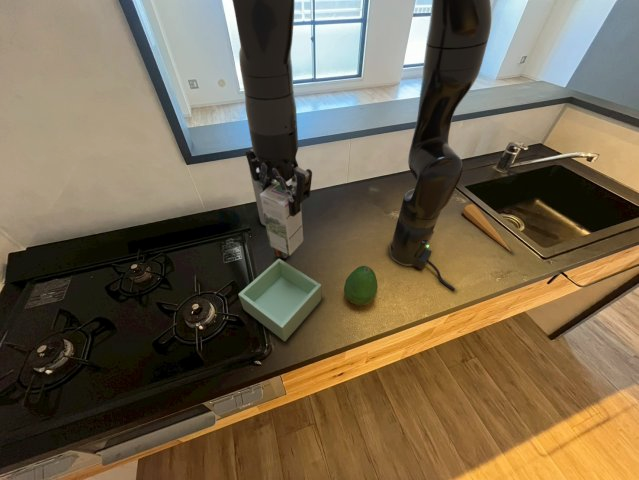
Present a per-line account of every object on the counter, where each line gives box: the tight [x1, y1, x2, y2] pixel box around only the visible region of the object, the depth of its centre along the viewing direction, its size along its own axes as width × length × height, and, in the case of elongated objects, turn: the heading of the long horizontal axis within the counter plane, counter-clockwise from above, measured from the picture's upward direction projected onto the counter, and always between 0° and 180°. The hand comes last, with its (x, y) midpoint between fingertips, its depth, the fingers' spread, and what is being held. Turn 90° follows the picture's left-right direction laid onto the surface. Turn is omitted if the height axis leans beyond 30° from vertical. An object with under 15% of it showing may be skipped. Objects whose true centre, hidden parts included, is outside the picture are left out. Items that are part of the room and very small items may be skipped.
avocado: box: [343, 265, 379, 306], centre depth 66 cm, size 8×8×12 cm
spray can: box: [248, 166, 276, 227], centre depth 84 cm, size 6×6×20 cm
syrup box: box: [260, 180, 304, 257], centre depth 58 cm, size 6×6×14 cm
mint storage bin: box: [238, 258, 322, 342], centre depth 67 cm, size 14×14×7 cm
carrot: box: [462, 203, 512, 253], centre depth 87 cm, size 20×4×4 cm, turn 21°
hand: (282, 207), depth 55 cm, fingers closed on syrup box, 6 cm apart
